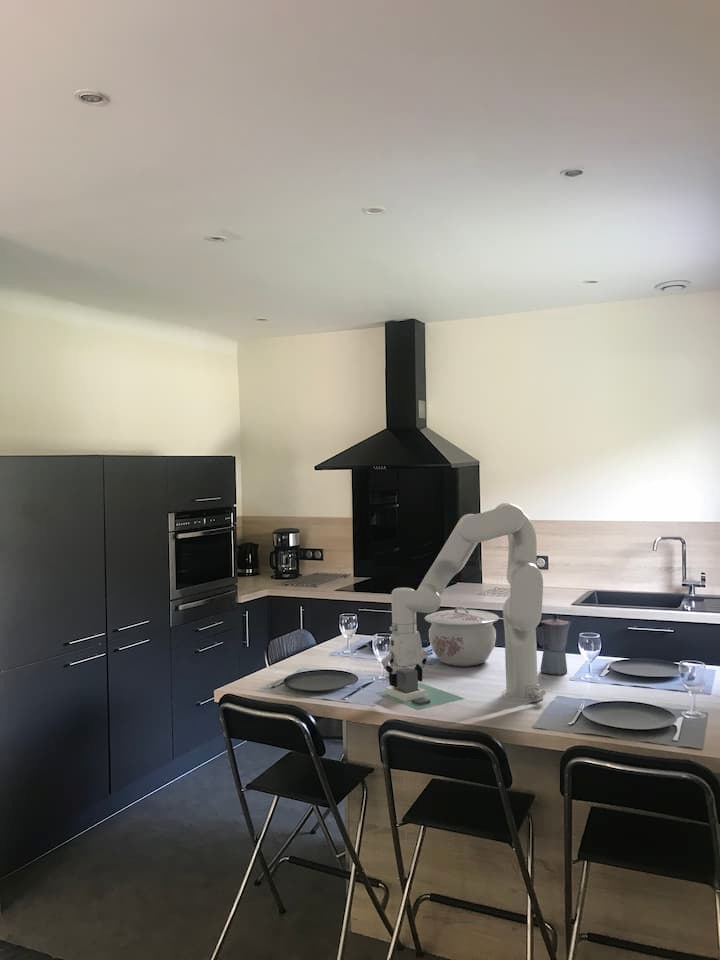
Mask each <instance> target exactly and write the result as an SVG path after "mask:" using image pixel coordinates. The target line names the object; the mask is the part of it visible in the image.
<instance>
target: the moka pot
mask: <svg viewBox="0 0 720 960" xmlns="http://www.w3.org/2000/svg"><path fill="white" fill-rule="evenodd" d="M552 616H553V618H550V619H544V620H540V622H539V624H538V626H537V627H538V628H541V633H542V643H543V645H540V643H539V639H538V634H537V633H536V641H537V647H536V648H537V649H543V652H542V656H541V663H540V671H541V672H542V673H544V674H548V675H549V674H550V675H565V674H568V666H567V655H566V653H567V652H566V651H565V650H566V645H567V642H568V635H569V628H570V626H571V625H572V622H571V621H568V620H562V619H560V618H559V619H558V614H556V613H554V614H552Z"/></svg>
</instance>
